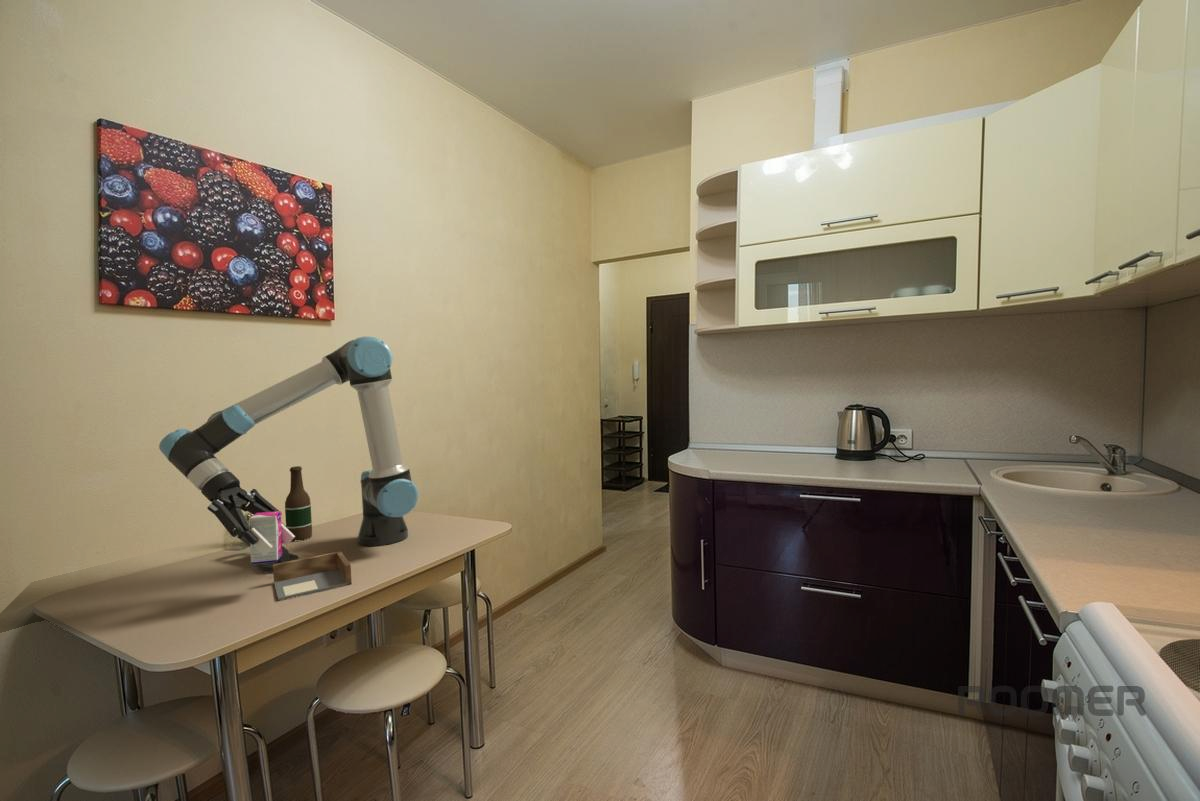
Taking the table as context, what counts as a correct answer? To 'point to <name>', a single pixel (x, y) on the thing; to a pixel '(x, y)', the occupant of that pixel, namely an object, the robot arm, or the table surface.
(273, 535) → the supplement box
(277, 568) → the walnut corner walls
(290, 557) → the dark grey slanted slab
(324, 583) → the grey mat
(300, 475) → the beer bottle
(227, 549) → the table surface
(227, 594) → the table surface
